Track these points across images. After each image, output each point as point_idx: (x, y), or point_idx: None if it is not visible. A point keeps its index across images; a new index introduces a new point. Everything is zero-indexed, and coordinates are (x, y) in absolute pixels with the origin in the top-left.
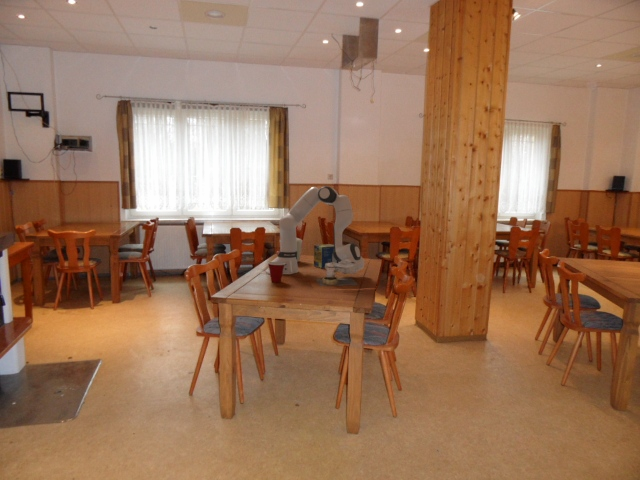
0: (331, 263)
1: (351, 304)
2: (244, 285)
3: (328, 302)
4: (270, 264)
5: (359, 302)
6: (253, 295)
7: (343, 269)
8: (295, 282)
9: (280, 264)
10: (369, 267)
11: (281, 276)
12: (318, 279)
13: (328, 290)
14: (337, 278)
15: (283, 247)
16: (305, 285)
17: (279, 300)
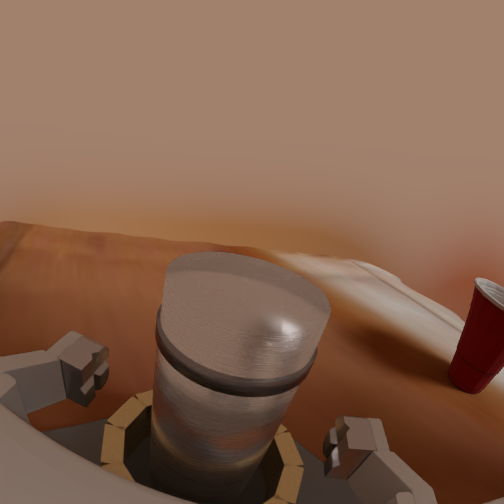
0: (242, 287)
1: (33, 232)
2: (441, 319)
3: (102, 241)
4: (488, 285)
5: (5, 240)
6: (331, 271)
7: (1, 368)
8: (426, 415)
9: (477, 284)
10: None
11: (466, 360)
12: None
13: (138, 343)
14: (115, 467)
15: None
16: (335, 395)
17: (244, 251)
